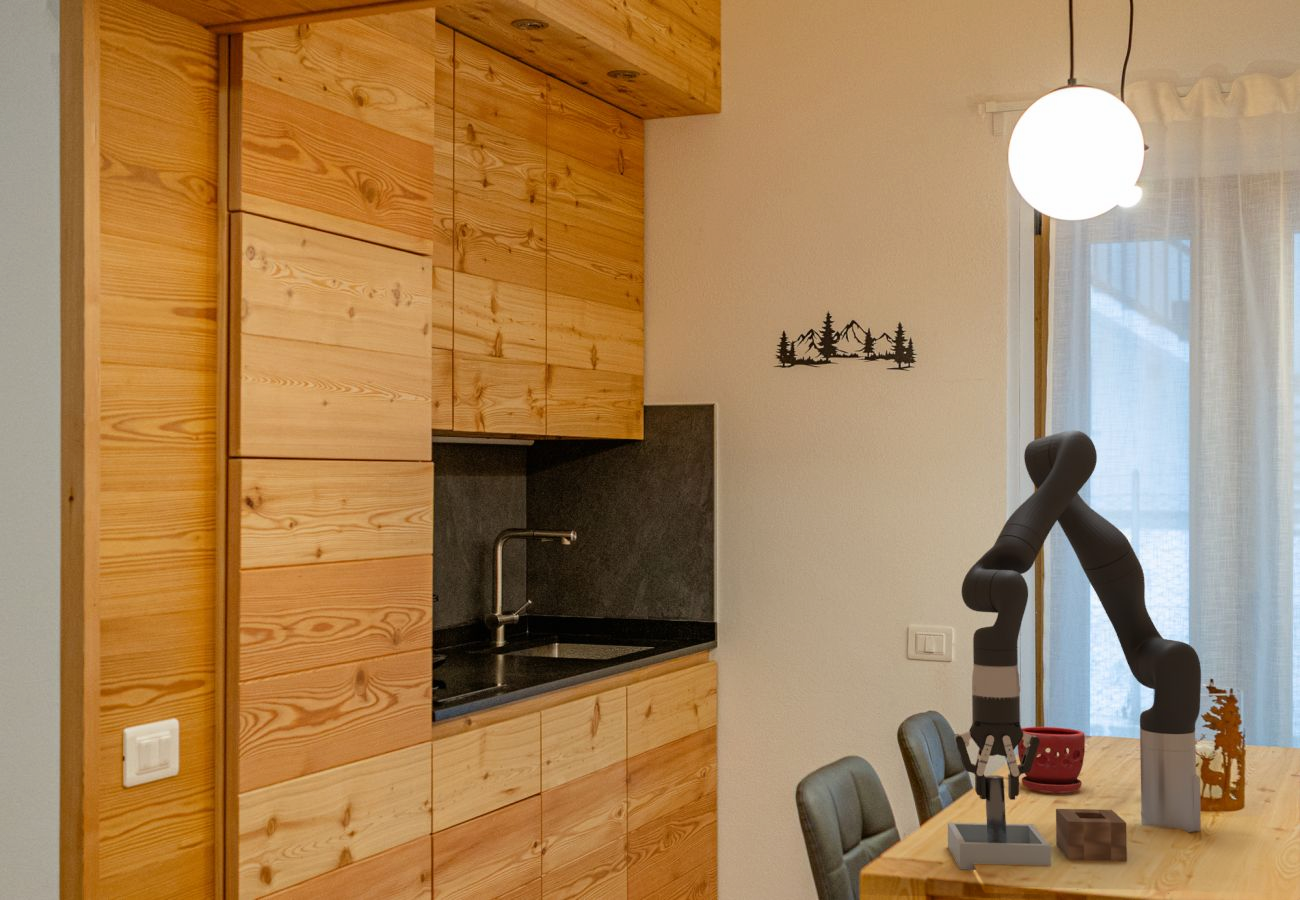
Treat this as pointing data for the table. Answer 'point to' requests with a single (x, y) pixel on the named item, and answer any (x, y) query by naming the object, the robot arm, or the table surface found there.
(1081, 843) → the pin block
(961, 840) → the tray
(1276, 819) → the table surface
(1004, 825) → the pin
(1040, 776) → the plant pot
